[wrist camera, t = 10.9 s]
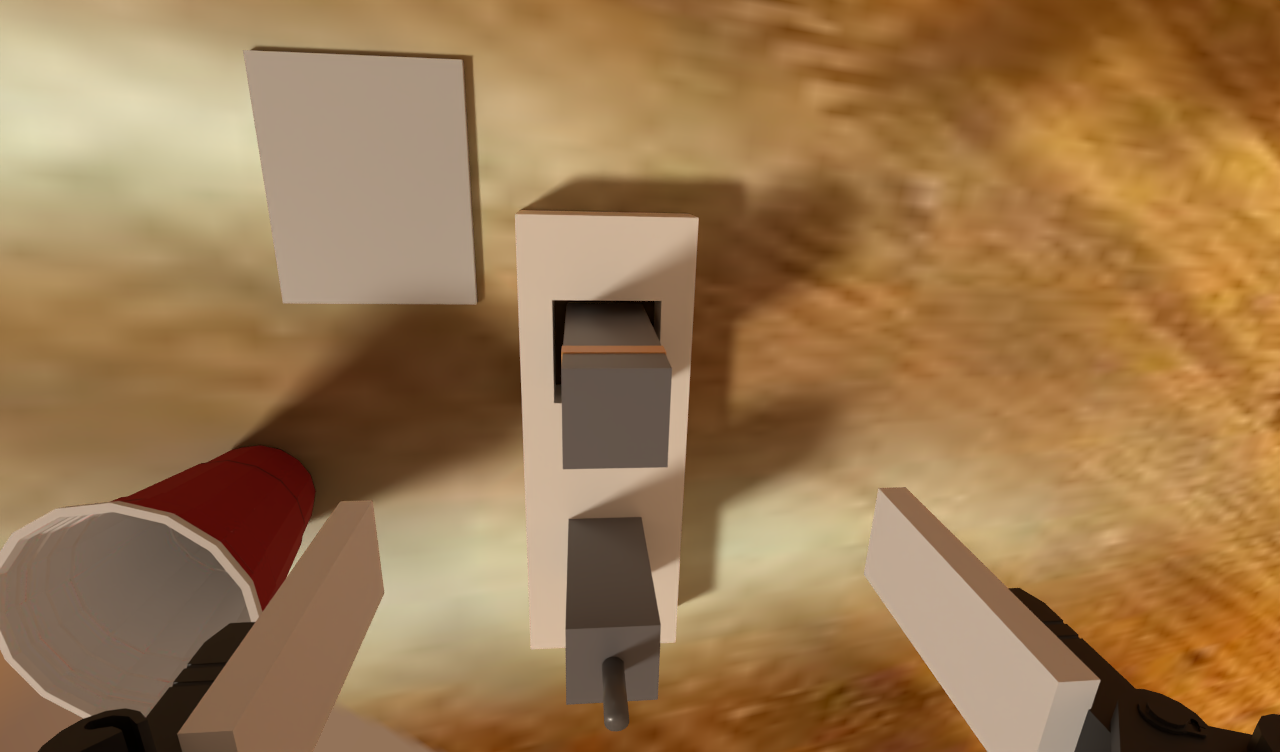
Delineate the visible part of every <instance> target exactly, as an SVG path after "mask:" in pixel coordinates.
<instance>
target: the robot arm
mask: <svg viewBox="0 0 1280 752" xmlns="http://www.w3.org/2000/svg"><path fill="white" fill-rule="evenodd" d="M864 575H865V577H866V578H867V580H868V581H869V583H870V584H871V585H872V587H873V588H874V590H875V591H876V593H877V594H878V595H879V597H880V598H881V600H882V601H883V603H884V604H885V606H886V607H887V608H888V610H889V611H890V613H891V614H892V616H893V617H894V618H895V620H896V621H897V623H898V624H899V626H900V627H901V628H902V630H903V631H904V633H905V634H906V636H907V637H908V638H909V640H910V641H911V643H912V644H913V646H914V647H915V649H916V650H917V651H918V653H919V654H920V656H921V657H922V659H923V660H924V661H925V663H926V664H927V666H928V667H929V669H930V670H931V671H932V673H933V674H934V676H935V677H936V679H937V680H938V682H939V683H940V684H941V686H942V687H943V689H944V690H945V692H946V693H947V694H948V696H949V697H950V699H951V700H952V702H953V703H954V704H955V706H956V707H957V709H958V710H959V712H960V713H961V715H962V716H963V717H964V719H965V720H966V722H967V723H968V725H969V726H970V727H971V729H972V730H973V732H974V733H975V735H976V736H977V737H978V739H979V740H980V742H981V743H982V745H983V746H984V747H985V749H986V750H987V752H1280V715H1276V714H1270V715H1266V716H1261V718H1260V720H1259V722H1258V724H1257V726H1256V728H1255V730H1254V732H1253V735H1251V734H1246V733H1240V732H1235V731H1230V730H1225V729H1220V728H1215V727H1210V726H1208V725H1207V724H1206V723H1205V722H1204V721H1203V720H1202V719H1201V718H1200V717H1199V716H1198V715H1197V714H1196V713H1194V712H1193V711H1191V710H1190V709H1188V708H1187V707H1185V706H1184V705H1182V704H1181V703H1179V702H1177V701H1175V700H1173V699H1171V698H1169V697H1167V696H1165V695H1163V694H1160V693H1156V692H1152V691H1149V690H1145V689H1135V688H1134V687H1133V686H1132V685H1131V684H1130V683H1129V682H1128V681H1127V680H1126V679H1125V678H1124V677H1123V676H1122V675H1120V674H1119V673H1118V672H1117V671H1116V670H1115V669H1114V668H1113V667H1112V666H1111V665H1110V664H1109V663H1108V662H1107V661H1106V660H1105V659H1103V658H1102V657H1101V656H1100V655H1099V654H1098V653H1097V652H1096V651H1095V650H1094V649H1093V648H1092V647H1091V646H1090V645H1089V644H1087V643H1086V642H1085V641H1084V640H1083V639H1082V638H1081V639H1079V637H1078V634H1077V633H1076V632H1075V631H1074V630H1073V629H1072V628H1070V627H1069V626H1068V625H1067V624H1064V623H1063V620H1062V619H1061V618H1060V617H1059V616H1058V615H1057V614H1056V613H1055V612H1053V611H1052V610H1051V609H1050V608H1049V607H1048V606H1047V605H1046V604H1045V603H1044V602H1042V601H1040V600H1039V599H1037V598H1035V597H1034V596H1032V595H1030V594H1029V593H1027V592H1025V591H1024V590H1022V589H1020V588H1009V589H1008V588H1007V587H1006V586H1005V585H1004V584H1003V583H1002V582H1001V581H1000V580H999V579H998V578H997V577H996V576H995V575H994V574H993V573H992V572H991V571H990V570H989V569H988V568H987V567H986V566H985V565H984V564H983V563H982V562H981V561H980V560H979V559H978V558H977V557H976V556H975V555H974V554H973V553H972V552H971V551H970V550H969V549H968V548H966V547H965V546H964V545H963V544H962V543H961V542H960V541H959V540H958V539H957V538H956V537H955V536H954V535H953V534H952V533H951V532H950V531H949V530H948V529H947V528H946V527H945V526H944V525H943V524H942V523H941V522H940V521H939V520H938V519H937V518H936V517H935V516H934V515H933V514H932V513H931V512H930V511H929V510H928V509H927V508H926V507H925V506H924V505H923V504H922V503H921V502H920V501H919V500H918V499H917V498H916V497H915V496H914V495H913V494H912V493H911V492H910V491H909V490H908V489H907V488H906V487H902V488H878V494H877V500H876V506H875V512H874V518H873V524H872V529H871V535H870V541H869V547H868V553H867V559H866V565H865V571H864ZM383 595H384V587H383V580H382V572H381V564H380V556H379V548H378V540H377V532H376V524H375V517H374V509H373V501H372V500H369V501H340V502H339V504H338V505H337V507H336V508H335V509H334V511H333V512H332V514H331V515H330V517H329V518H328V519H327V521H326V522H325V524H324V525H323V527H322V528H321V529H320V531H319V532H318V534H317V535H316V537H315V538H314V539H313V541H312V542H311V544H310V545H309V547H308V548H307V549H306V551H305V552H304V554H303V555H302V557H301V558H300V559H299V561H298V562H297V564H296V565H295V567H294V568H293V569H292V571H291V572H290V574H289V575H288V577H287V578H286V579H285V581H284V582H283V584H282V585H281V586H280V588H279V589H278V591H277V592H276V594H275V595H274V596H273V598H272V599H271V601H270V602H269V604H268V605H267V606H266V608H265V609H264V611H263V612H262V614H261V615H260V616H259V618H258V619H257V621H256V622H241V623H229V624H228V625H227V626H225V627H224V628H223V629H221V630H220V631H219V632H217V633H216V634H215V635H213V636H212V637H211V638H209V639H208V640H207V641H205V642H204V643H203V645H202V646H201V647H200V648H199V650H198V651H197V652H196V654H195V655H194V656H193V657H192V659H191V660H190V661H189V663H188V664H187V668H185V669H183V670H182V672H181V673H180V674H179V675H178V677H177V678H176V679H175V681H174V682H173V686H172V687H169V688H168V690H167V691H166V692H165V693H164V695H163V696H162V697H161V699H160V700H159V701H158V702H157V704H156V705H155V706H154V708H153V709H152V710H151V711H150V713H149V714H148V715H147V717H145V716H144V715H143V714H142V713H141V712H140V711H137V710H132V709H127V708H123V709H116V710H108V711H104V712H101V713H98V714H95V715H93V716H90V717H87V718H84V719H82V720H80V721H78V722H77V723H75V724H73V725H71V726H69V727H68V728H66V729H64V730H62V731H61V732H59V733H58V734H57V735H56V736H54V737H53V738H52V739H51V740H49V741H48V742H47V743H46V744H44V745H43V746H42V747H41V749H40V750H39V751H38V752H313V751H314V748H315V746H316V744H317V742H318V739H319V737H320V735H321V733H322V730H323V728H324V726H325V724H326V721H327V719H328V717H329V715H330V713H331V710H332V708H333V706H334V704H335V702H336V699H337V697H338V695H339V693H340V690H341V688H342V686H343V684H344V681H345V679H346V677H347V675H348V673H349V670H350V668H351V666H352V664H353V661H354V659H355V657H356V655H357V653H358V650H359V648H360V646H361V644H362V641H363V639H364V637H365V635H366V632H367V630H368V628H369V626H370V624H371V621H372V619H373V617H374V615H375V612H376V610H377V608H378V606H379V604H380V601H381V599H382V597H383Z"/></svg>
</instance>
